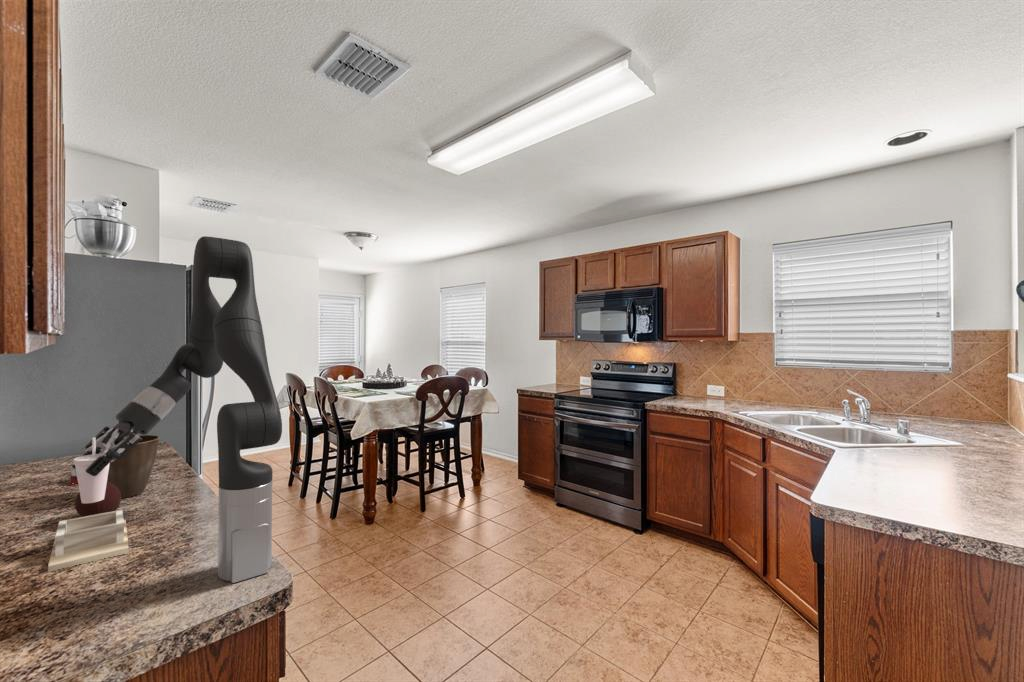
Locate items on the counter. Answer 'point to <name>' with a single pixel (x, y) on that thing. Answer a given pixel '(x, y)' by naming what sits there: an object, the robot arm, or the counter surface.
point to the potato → (100, 502)
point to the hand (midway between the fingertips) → (82, 471)
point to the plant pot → (134, 467)
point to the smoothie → (90, 477)
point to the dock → (89, 539)
